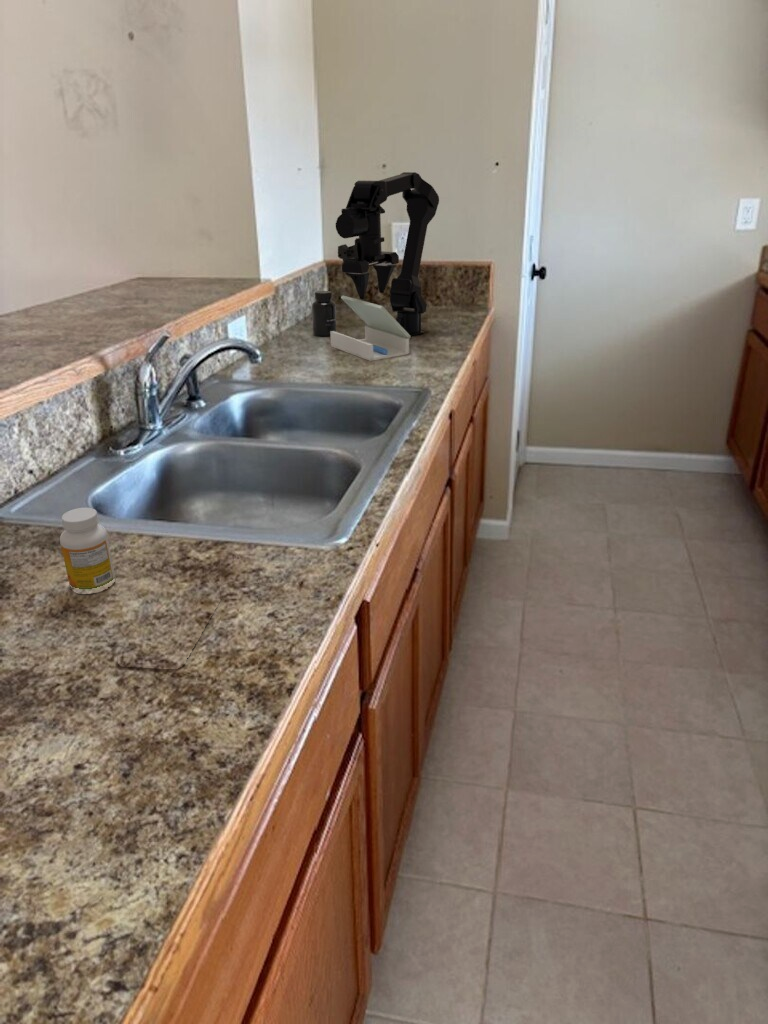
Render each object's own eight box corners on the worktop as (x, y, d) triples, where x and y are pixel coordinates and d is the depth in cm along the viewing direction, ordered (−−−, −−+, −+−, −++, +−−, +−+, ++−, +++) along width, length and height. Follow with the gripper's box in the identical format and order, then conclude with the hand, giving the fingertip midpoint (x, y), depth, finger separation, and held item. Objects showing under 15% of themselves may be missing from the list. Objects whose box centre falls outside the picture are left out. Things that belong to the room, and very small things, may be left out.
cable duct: (368, 340, 214) (367, 325, 213) (409, 354, 199) (409, 338, 197) (330, 346, 208) (330, 331, 207) (370, 361, 193) (369, 345, 192)
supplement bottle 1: (77, 575, 98) (62, 505, 93) (120, 572, 98) (107, 503, 94) (65, 597, 93) (48, 525, 89) (110, 594, 93) (96, 523, 89)
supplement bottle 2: (333, 337, 218) (331, 294, 213) (310, 336, 220) (307, 293, 214) (339, 332, 224) (337, 290, 219) (316, 331, 226) (314, 289, 221)
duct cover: (369, 326, 213) (370, 324, 213) (409, 339, 198) (411, 336, 198) (340, 297, 205) (342, 295, 205) (380, 308, 190) (382, 306, 190)
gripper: (364, 228, 207) (366, 287, 214) (322, 236, 193) (326, 299, 200) (399, 230, 201) (400, 290, 208) (359, 238, 187) (361, 303, 194)
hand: (371, 296), depth 203 cm, fingers open, 9 cm apart
